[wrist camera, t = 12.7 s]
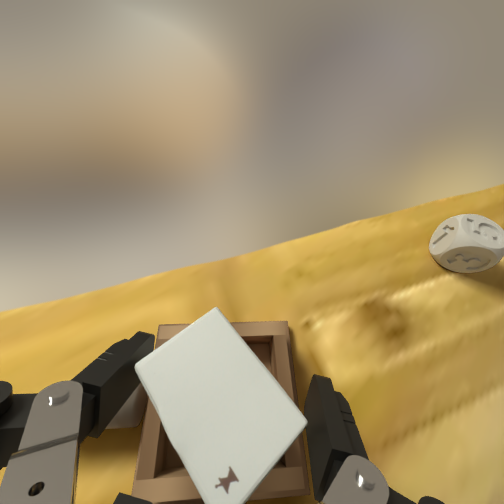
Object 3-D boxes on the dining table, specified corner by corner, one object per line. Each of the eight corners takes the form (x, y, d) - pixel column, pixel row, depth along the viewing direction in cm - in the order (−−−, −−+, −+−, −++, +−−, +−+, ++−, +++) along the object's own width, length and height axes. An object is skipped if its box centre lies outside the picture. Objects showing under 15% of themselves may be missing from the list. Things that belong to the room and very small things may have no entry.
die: (428, 234, 32) (458, 207, 27) (468, 247, 31) (505, 222, 27) (428, 263, 29) (461, 239, 25) (472, 278, 28) (513, 256, 24)
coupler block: (285, 323, 24) (294, 310, 20) (324, 632, 14) (353, 703, 11) (95, 329, 22) (70, 315, 19) (-11, 681, 12) (-101, 782, 9)
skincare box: (270, 416, 19) (315, 427, 9) (227, 463, 17) (219, 545, 7) (224, 352, 21) (217, 302, 11) (181, 387, 19) (126, 367, 9)
